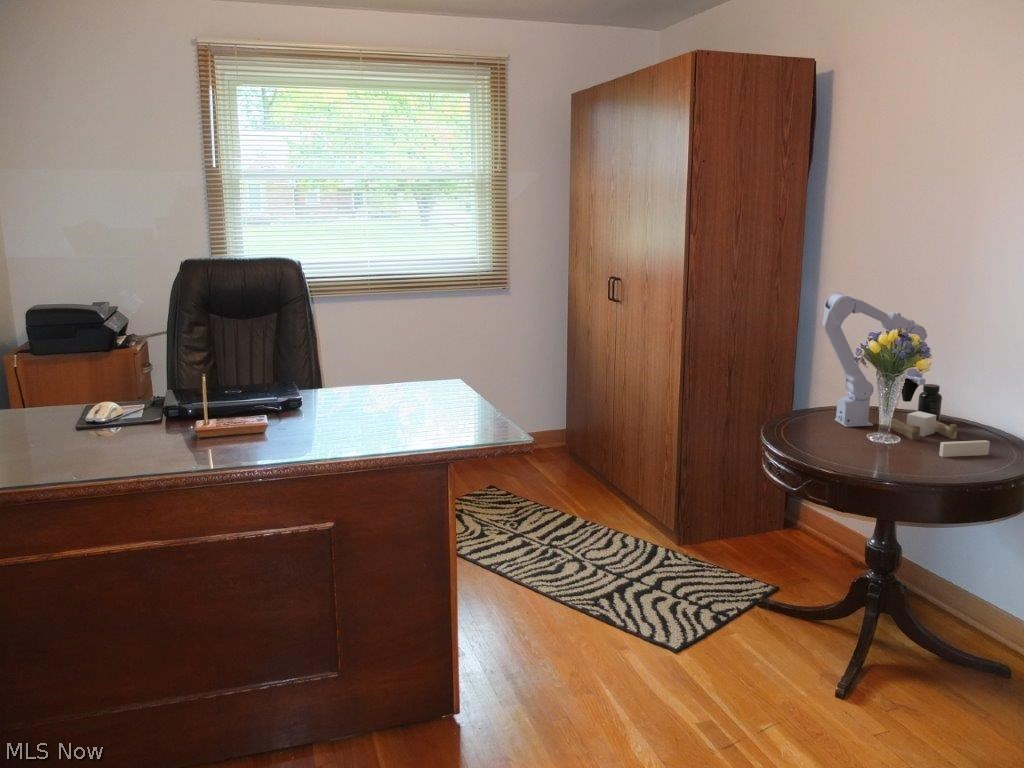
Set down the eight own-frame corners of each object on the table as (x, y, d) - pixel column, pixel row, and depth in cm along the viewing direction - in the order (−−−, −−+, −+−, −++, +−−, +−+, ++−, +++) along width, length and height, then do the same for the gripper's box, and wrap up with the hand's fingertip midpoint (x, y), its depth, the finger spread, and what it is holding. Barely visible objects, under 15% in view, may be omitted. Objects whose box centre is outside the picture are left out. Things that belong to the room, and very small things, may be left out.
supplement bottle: (940, 419, 265) (944, 384, 262) (938, 424, 260) (942, 389, 257) (917, 416, 269) (921, 382, 266) (915, 421, 263) (919, 386, 260)
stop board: (942, 456, 229) (943, 443, 228) (939, 455, 231) (940, 442, 230) (988, 454, 230) (989, 441, 229) (984, 453, 232) (986, 440, 231)
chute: (913, 440, 244) (915, 427, 243) (889, 427, 257) (890, 414, 256) (955, 439, 245) (957, 425, 244) (929, 425, 258) (930, 412, 257)
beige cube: (923, 436, 248) (925, 418, 246) (905, 432, 253) (907, 414, 251) (934, 433, 251) (936, 415, 249) (916, 428, 256) (918, 410, 254)
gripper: (936, 365, 249) (931, 406, 252) (910, 355, 263) (906, 394, 266) (914, 365, 248) (910, 407, 251) (889, 356, 262) (886, 395, 265)
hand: (906, 401), depth 259 cm, fingers closed
